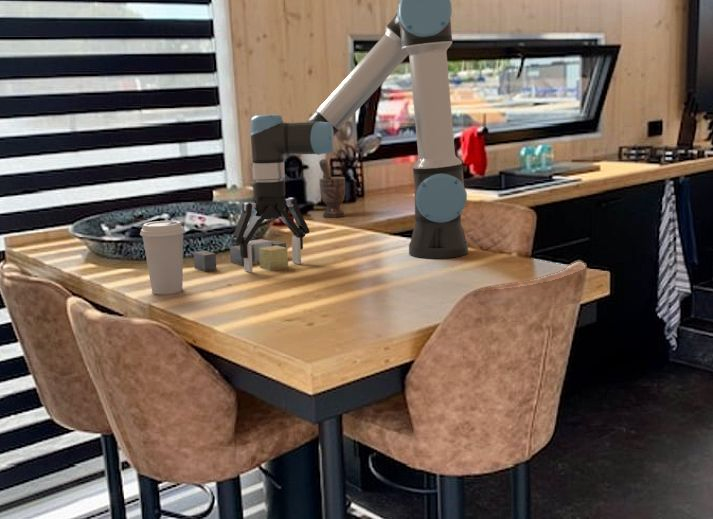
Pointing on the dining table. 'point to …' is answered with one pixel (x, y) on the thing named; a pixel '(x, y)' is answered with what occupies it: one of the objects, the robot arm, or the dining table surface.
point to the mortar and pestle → (331, 191)
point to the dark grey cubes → (208, 259)
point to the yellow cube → (273, 258)
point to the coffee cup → (164, 255)
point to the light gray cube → (255, 248)
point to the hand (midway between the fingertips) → (273, 267)
